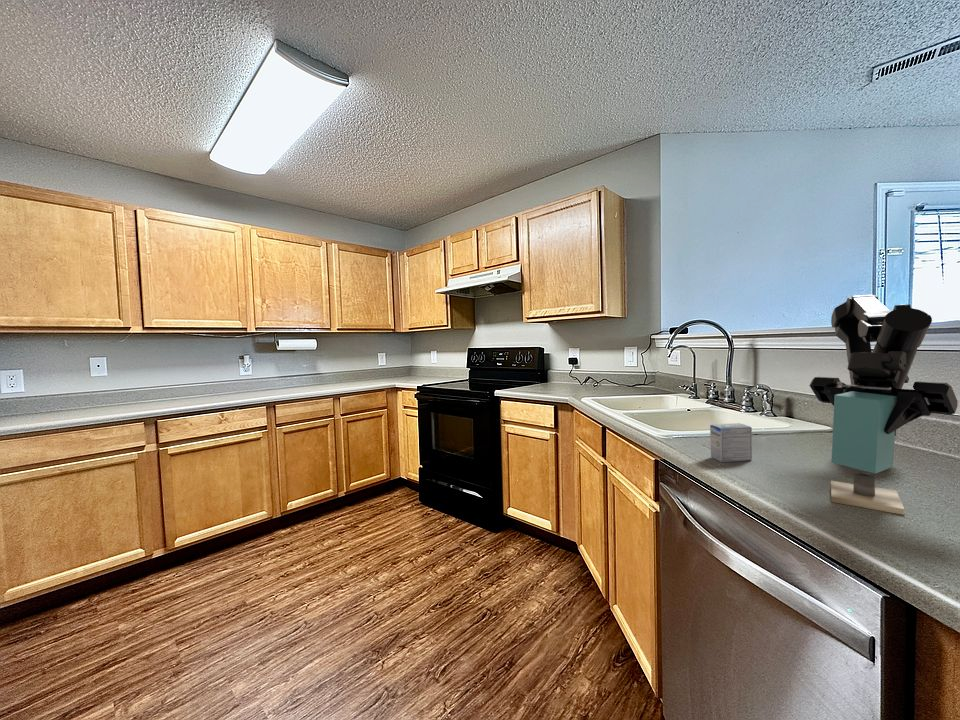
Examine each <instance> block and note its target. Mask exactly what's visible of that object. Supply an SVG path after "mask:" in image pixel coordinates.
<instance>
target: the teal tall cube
mask: <svg viewBox="0 0 960 720" xmlns="http://www.w3.org/2000/svg"><path fill="white" fill-rule="evenodd" d="M896 401H897V396H890V395H881V394H872V393H864V392H855V391H851V392H846V393H842V394H837V395H835V397H834V406H833V421H832V422H833V424H832V443H831V444H832V445H831V446H832V448H831V463H833V464H837V465H840V466H845V467H847V468H852V469H855V470H858V471H863V472H864V471H865V472H866V473H867V472H868V473H870V474H878V473H880V472H883V471H886V470H888V469H891V468H893V467H894V457H895V455H894V454H895V442H896V441H895V437H896V436H895V431H893V432H892V433H890V434H886V433H885V431H884V429H885V426H886V423H887V421H888V419H889V417H890V415H891V413H892V411H893V409H894V407H895V405H896Z"/></svg>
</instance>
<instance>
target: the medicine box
mask: <svg viewBox="0 0 960 720" xmlns="http://www.w3.org/2000/svg"><path fill="white" fill-rule="evenodd" d="M752 429H753V428H752V426H751V425H746V424H744V423H740V422H739V423H738V422H736V423H734V422H733V423H718V424H711V425H709V431H710V432H709V435H710V436H709V437H710V438H709V439H710V457H711V458H712V459H713V460H715V459H716V461H718V462H721V463H729V462H730V463H732V462H746V461H752V460H753V443H752V442H753V439H752V437H753V434H752V433H753V432H752V431H753V430H752Z"/></svg>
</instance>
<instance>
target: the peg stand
mask: <svg viewBox="0 0 960 720" xmlns="http://www.w3.org/2000/svg"><path fill="white" fill-rule="evenodd" d="M852 475H853V476H852V477H853V478H852V479H853V482H852V483H850V482H843V481H838V480H837V481H836V480H830V498H831V499H830V501H831V502H832V503H836V504H842V505H847V506H851V507H852V506H853V507H858V508H864V509H870V510H875V511H880V512H885V513H886V512H887V513H893V514H897V515H902V516H903V515H905V507H904V504H903V502H902V500H901V498H900V496H899V494H898V491H897V490H896V489H892V488H891V489H889V488H883V487H876V476H875V475H874V474H873V473H869V472H868V473H867V472H860V471H858V472H857V471H856V472H855V471H854V472H853V474H852Z"/></svg>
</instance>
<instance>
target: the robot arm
mask: <svg viewBox="0 0 960 720" xmlns="http://www.w3.org/2000/svg"><path fill="white" fill-rule="evenodd" d="M830 319H831V320H830V323H831V328H834V332H835V335H836V337H837V338H838V339H840V340H841V341H842V342H843V343H844V344H845V349H846V356H847V358H846V359H847V370H848V372H849V373H848V374H849V378H850V379H849V380H850V384H847V383H845V382H842V381H841V380H840V377H831V376H829V377H828V376H814V377H813V378H812V380H811V382H810V384H809V387H810V389H811V391H812V392H813V394H814V395H815V397H816V399H817V401H819V402H821V403H822V404H823V403H824V404H831V406H833V407H834V397H835V395H837V394H842V393H846V392H851V391H855V392H864V393H872V394H881V395H890V396H897V401H896V405H895V407H894V409H893V411H892V413H891V415H890V417H889V419H888V421H887V423H886V426H885V429H884V431H885V433H886V434H890V433H892V432H893V431H895V437H896V436H897V430H898V429H899V428H901V427H902V428H903V426H905V425H907V424H909V423H911V422H912V421H915V420H917V419H918V418H921V417H923V416H924V417H930V416H931V414H939V415H949V416H952V415H953V414H955V413H956V411H957V409H958V406H959V405H958V403H959V401H958V399H957V396H956V394H955V391H954V389H953V387H952V385H950V384H949V383H948V382H943V381H942V382H940V381H939V382H937V381H921V380H920V381H918V380H917V381H914V382H913V384H912V388H913V389H912V388H911V389H910V388H909V389H908V388H903V387H904V385H905V384H908V383H909V381H910V378H909V375H908V374H909V372H910V369H911V367H912V364H913V362H914V360H915V357H916V355H917V352H918V348H919V347H921V345H922V343H923V340H924V339H925V337H926V334H927V332H928V331H929V328H930V326H931V324H932V322H933V317H932V316H931V315H930V314H928V313H927V312H925V311H923V310H921V309H917V308H912V306H911V304H909V303H908V304H907V303H906V304H895V305H894V307H893V310H890V309H888V307H887V306H885V305H884V303H882V302H880V300H879V297H878V294H877V295H876V294H875V295H874V294H862V295H861V294H860V295H852V296H850V297H849V296H848V297H847V299H846V300H845V302H843V303H841V304H839V305H838V306H836V307H834V308H833V311H832V314H831V318H830ZM874 342H875V345H874V347H873V349H872V346H871V343H874Z"/></svg>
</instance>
